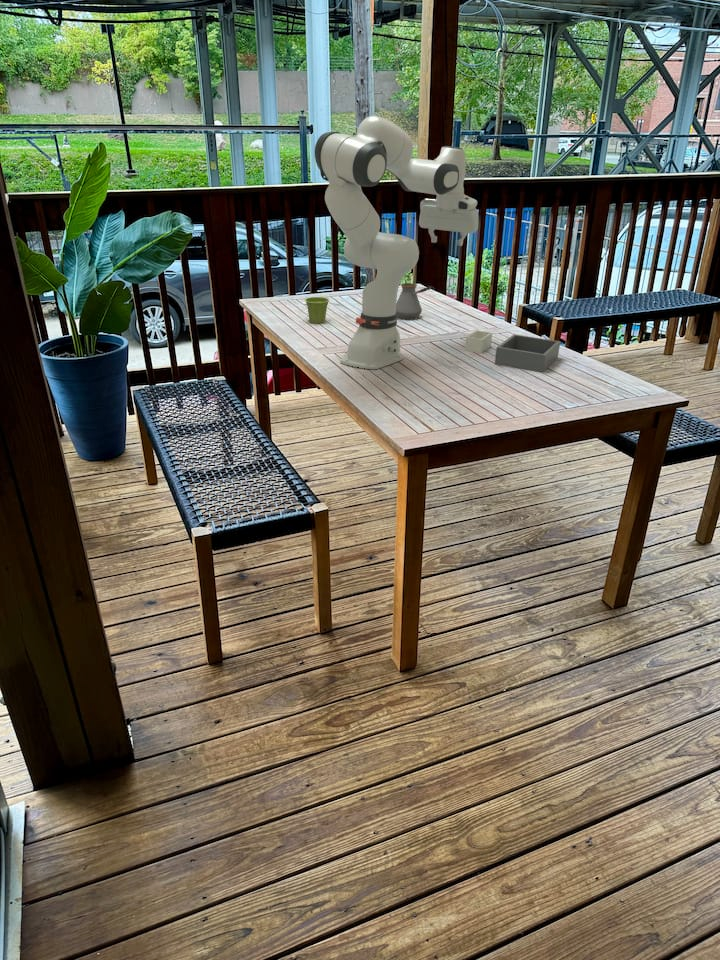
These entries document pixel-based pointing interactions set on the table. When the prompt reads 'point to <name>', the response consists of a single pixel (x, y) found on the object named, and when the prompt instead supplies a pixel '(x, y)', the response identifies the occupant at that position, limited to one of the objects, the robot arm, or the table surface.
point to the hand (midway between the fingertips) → (446, 243)
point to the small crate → (478, 341)
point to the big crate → (527, 353)
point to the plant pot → (317, 309)
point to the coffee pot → (409, 301)
